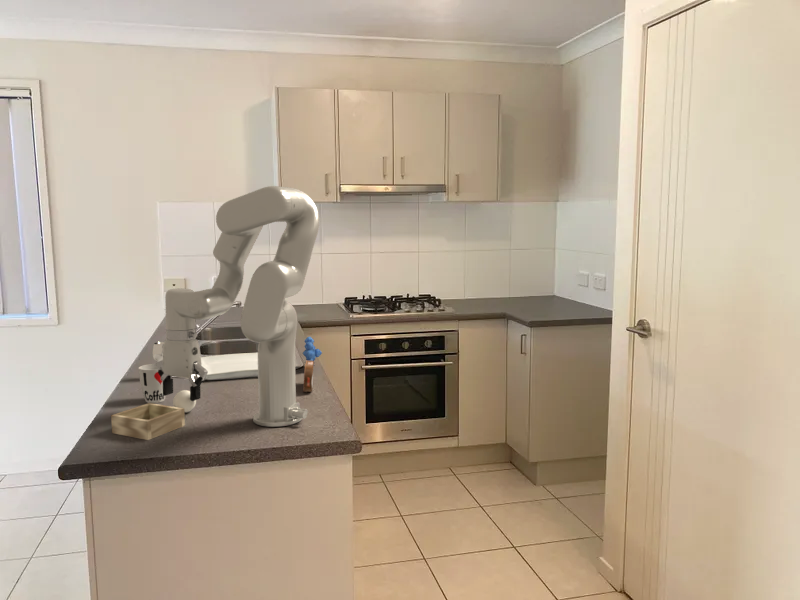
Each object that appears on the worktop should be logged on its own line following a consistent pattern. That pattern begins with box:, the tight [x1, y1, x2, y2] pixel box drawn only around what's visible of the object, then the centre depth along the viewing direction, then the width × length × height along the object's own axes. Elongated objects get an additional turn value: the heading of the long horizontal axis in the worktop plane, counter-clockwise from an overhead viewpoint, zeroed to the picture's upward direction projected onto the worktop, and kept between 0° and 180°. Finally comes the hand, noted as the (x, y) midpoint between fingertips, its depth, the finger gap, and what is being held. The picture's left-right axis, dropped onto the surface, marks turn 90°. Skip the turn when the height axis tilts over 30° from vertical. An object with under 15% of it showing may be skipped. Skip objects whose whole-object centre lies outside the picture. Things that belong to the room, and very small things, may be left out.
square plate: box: [201, 352, 258, 381], centre depth 225 cm, size 27×27×4 cm
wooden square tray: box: [110, 402, 186, 441], centre depth 162 cm, size 12×12×4 cm
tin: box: [302, 359, 315, 393], centre depth 201 cm, size 15×3×8 cm, turn 6°
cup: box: [138, 363, 166, 404], centre depth 188 cm, size 8×8×10 cm
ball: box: [172, 389, 197, 414], centre depth 177 cm, size 6×6×6 cm
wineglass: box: [152, 341, 165, 363], centre depth 213 cm, size 6×6×12 cm
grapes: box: [302, 336, 323, 367], centre depth 226 cm, size 12×7×12 cm, turn 8°
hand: (181, 397), depth 177 cm, fingers open, 9 cm apart
